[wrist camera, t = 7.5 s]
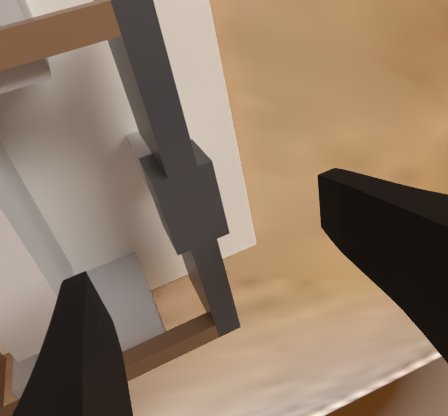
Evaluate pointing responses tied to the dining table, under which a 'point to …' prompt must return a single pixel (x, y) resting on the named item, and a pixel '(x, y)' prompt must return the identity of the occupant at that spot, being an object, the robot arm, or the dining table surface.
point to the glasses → (147, 158)
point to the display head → (100, 179)
